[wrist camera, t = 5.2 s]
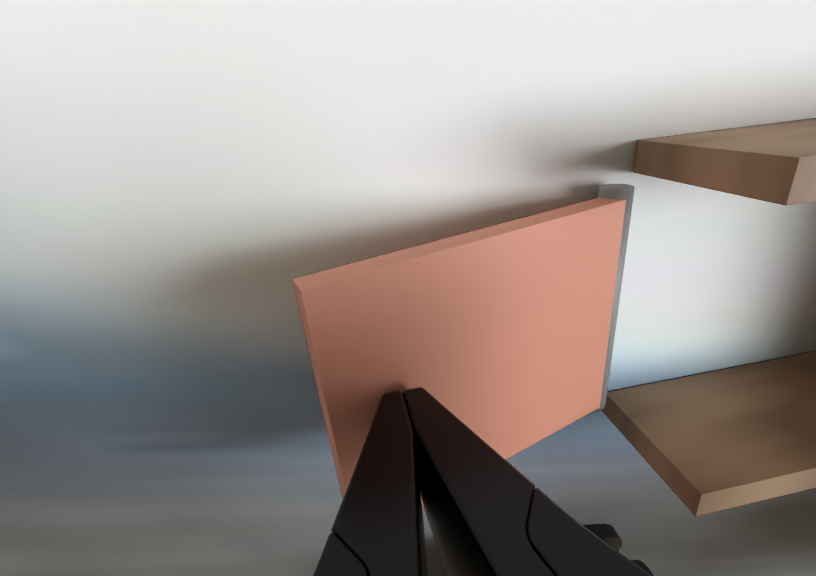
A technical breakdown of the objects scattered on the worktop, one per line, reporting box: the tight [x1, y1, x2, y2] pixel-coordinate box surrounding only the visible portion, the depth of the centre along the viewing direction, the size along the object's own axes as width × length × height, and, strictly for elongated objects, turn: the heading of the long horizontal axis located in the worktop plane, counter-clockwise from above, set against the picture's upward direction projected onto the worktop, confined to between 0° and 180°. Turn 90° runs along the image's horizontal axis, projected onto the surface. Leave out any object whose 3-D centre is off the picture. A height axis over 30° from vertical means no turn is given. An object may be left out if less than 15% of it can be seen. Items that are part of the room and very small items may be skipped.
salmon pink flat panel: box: [292, 184, 634, 506], centre depth 10 cm, size 1×7×9 cm
